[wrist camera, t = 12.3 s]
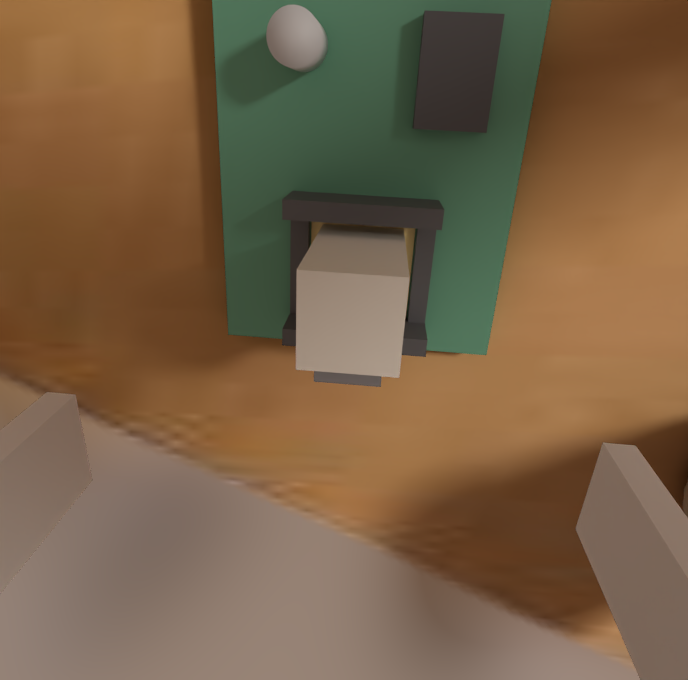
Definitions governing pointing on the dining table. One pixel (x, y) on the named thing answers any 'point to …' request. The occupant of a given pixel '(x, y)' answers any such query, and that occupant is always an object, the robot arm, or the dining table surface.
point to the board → (374, 148)
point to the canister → (685, 500)
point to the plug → (352, 304)
